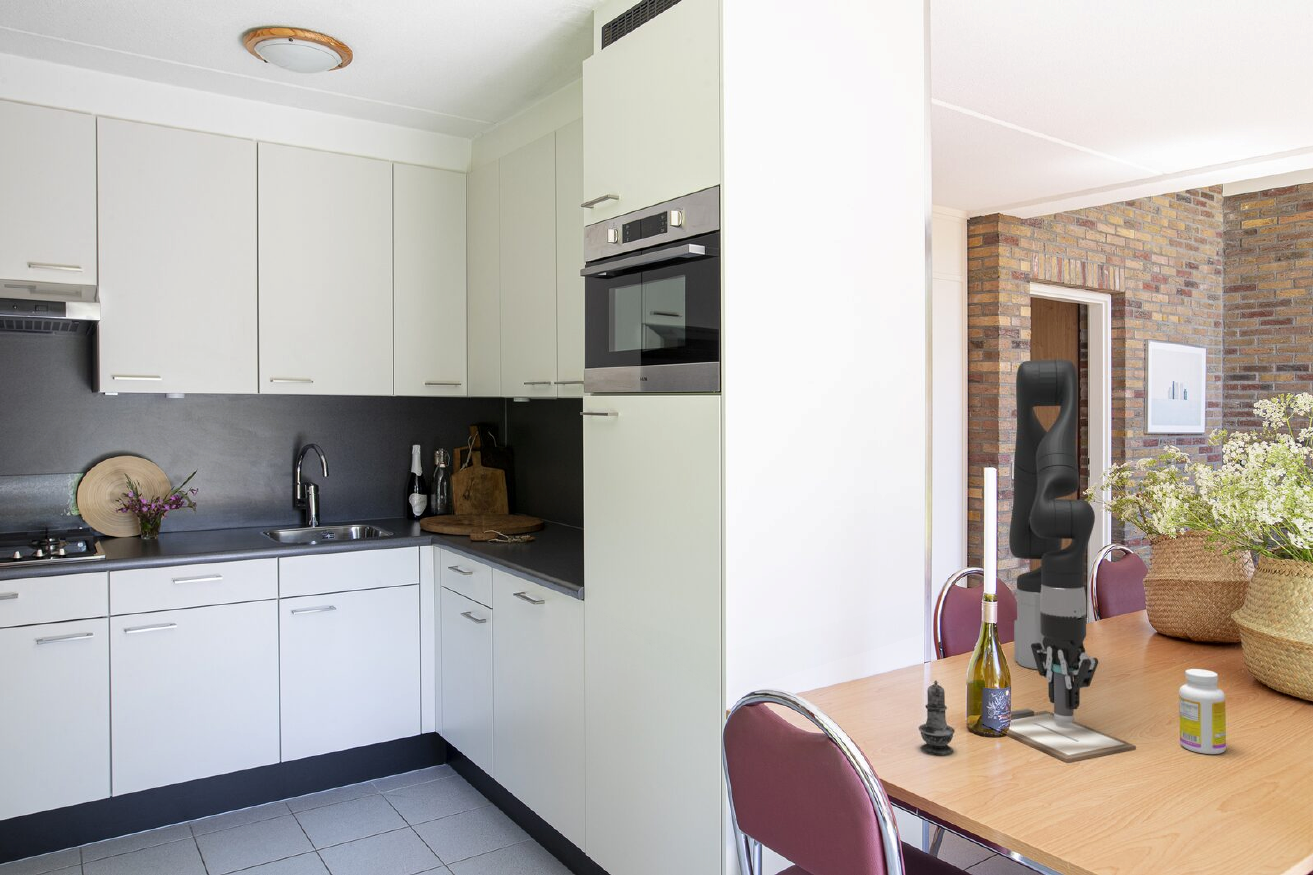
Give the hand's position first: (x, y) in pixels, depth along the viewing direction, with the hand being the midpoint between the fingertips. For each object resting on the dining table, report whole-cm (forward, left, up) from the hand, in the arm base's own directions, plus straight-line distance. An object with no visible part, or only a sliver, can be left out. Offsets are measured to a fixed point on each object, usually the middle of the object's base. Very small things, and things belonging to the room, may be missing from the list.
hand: (1064, 705), depth 160 cm
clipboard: (+2, -4, -4) cm, 6 cm away
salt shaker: (-1, -27, -5) cm, 27 cm away
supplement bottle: (+16, +14, -5) cm, 22 cm away
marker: (0, 0, -3) cm, 3 cm away
